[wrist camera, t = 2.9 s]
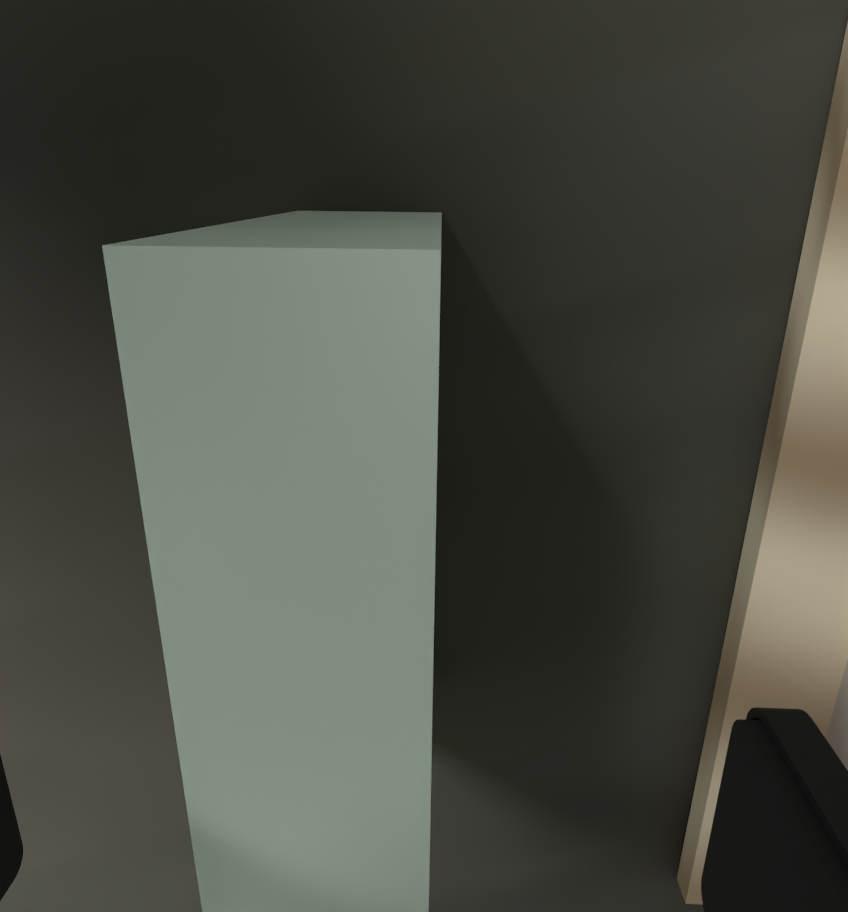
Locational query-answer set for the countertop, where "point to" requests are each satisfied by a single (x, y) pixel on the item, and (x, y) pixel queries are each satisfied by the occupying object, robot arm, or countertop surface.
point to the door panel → (292, 542)
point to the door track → (794, 514)
